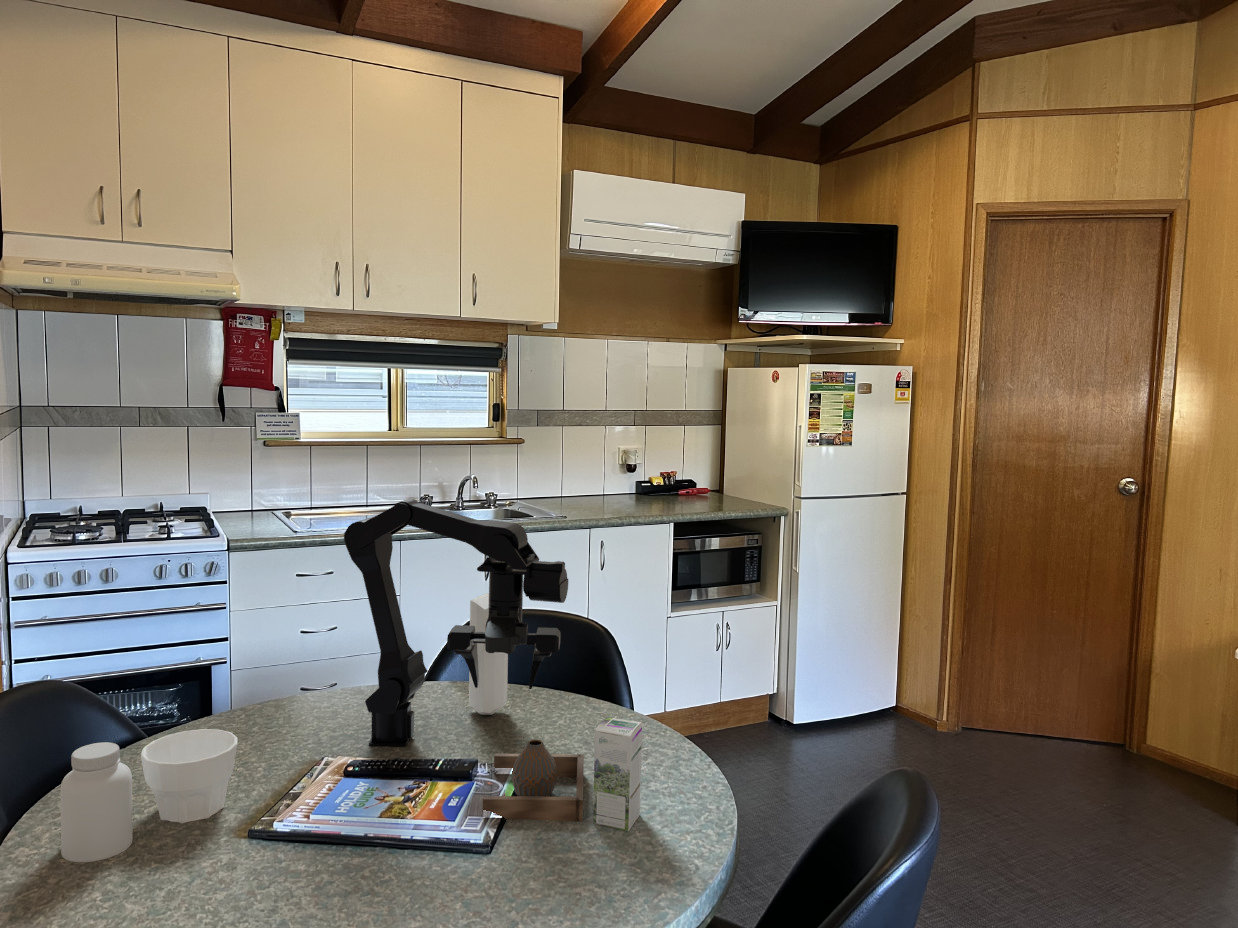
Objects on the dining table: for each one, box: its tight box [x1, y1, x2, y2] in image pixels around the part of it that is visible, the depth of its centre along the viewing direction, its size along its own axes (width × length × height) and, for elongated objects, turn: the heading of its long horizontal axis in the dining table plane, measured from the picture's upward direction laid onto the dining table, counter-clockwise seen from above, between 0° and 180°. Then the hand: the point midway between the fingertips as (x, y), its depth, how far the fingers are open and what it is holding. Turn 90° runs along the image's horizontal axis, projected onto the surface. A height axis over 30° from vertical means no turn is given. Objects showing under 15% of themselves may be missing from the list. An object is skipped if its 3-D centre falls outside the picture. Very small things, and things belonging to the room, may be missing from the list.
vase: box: [511, 739, 558, 797], centre depth 133 cm, size 7×7×9 cm
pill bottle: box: [59, 741, 133, 863], centre depth 112 cm, size 8×8×15 cm
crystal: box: [468, 592, 509, 716], centre depth 165 cm, size 7×7×24 cm
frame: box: [482, 753, 585, 822], centre depth 133 cm, size 14×16×4 cm
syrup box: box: [592, 717, 643, 832], centre depth 126 cm, size 6×6×14 cm
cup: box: [140, 728, 239, 824], centre depth 123 cm, size 12×12×11 cm
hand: (503, 687), depth 148 cm, fingers open, 9 cm apart
